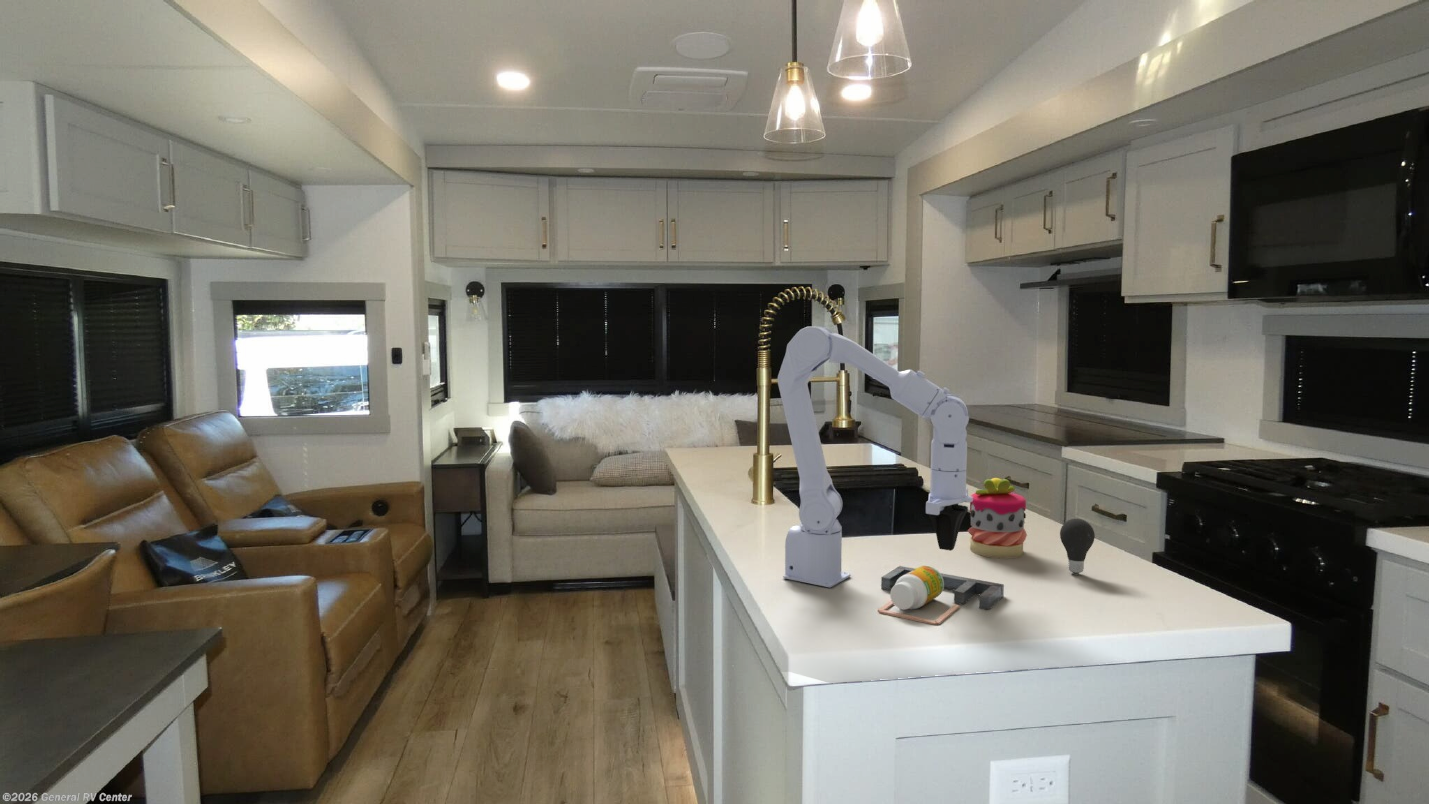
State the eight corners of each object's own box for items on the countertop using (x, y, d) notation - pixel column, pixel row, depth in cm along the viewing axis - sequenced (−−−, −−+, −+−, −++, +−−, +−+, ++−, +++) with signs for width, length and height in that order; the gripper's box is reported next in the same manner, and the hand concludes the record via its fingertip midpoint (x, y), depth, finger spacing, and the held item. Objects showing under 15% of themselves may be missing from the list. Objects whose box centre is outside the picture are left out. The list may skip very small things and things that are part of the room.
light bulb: (1053, 574, 144) (1055, 519, 143) (1065, 567, 148) (1067, 513, 147) (1086, 581, 140) (1088, 524, 139) (1097, 573, 144) (1099, 518, 143)
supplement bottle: (951, 587, 129) (924, 603, 122) (927, 603, 132) (900, 620, 125) (930, 558, 131) (903, 572, 124) (907, 575, 134) (879, 590, 127)
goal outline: (876, 612, 125) (876, 610, 125) (900, 595, 133) (900, 593, 133) (938, 625, 120) (938, 623, 120) (959, 607, 127) (959, 605, 127)
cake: (960, 544, 164) (962, 471, 162) (1012, 543, 164) (1014, 470, 163) (979, 559, 153) (981, 481, 152) (1034, 558, 154) (1036, 480, 152)
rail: (881, 588, 137) (881, 577, 136) (899, 577, 143) (899, 565, 143) (988, 609, 126) (989, 597, 126) (1003, 596, 132) (1003, 584, 132)
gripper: (957, 478, 126) (955, 563, 127) (986, 464, 138) (984, 543, 139) (914, 473, 130) (912, 555, 131) (945, 461, 142) (944, 536, 143)
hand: (946, 548), depth 136 cm, fingers closed
